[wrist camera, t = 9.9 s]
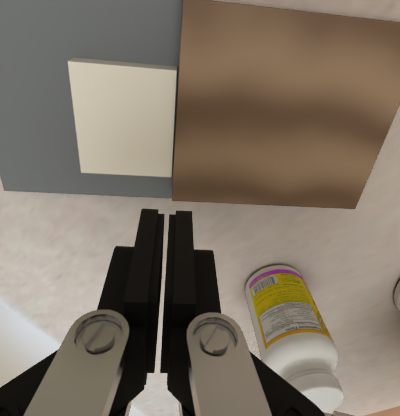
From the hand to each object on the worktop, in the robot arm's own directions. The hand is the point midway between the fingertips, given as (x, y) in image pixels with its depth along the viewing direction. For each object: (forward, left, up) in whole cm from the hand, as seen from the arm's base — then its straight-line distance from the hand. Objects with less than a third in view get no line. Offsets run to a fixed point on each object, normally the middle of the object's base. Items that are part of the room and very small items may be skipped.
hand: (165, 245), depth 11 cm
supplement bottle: (-19, -12, -17) cm, 28 cm away
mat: (0, +7, -16) cm, 18 cm away
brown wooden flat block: (0, -8, -16) cm, 18 cm away
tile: (-1, +3, -16) cm, 16 cm away
